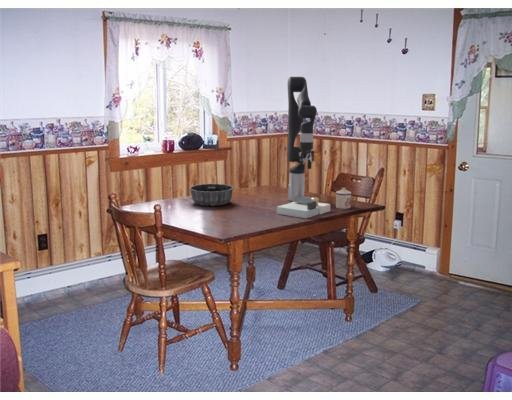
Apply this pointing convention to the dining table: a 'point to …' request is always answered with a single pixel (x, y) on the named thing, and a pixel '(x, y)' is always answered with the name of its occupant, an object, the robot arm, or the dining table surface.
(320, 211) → the jamb block
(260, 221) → the dining table surface
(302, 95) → the robot arm
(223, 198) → the bundt pan
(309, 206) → the block
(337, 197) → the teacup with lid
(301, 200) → the bar
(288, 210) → the door leaf
